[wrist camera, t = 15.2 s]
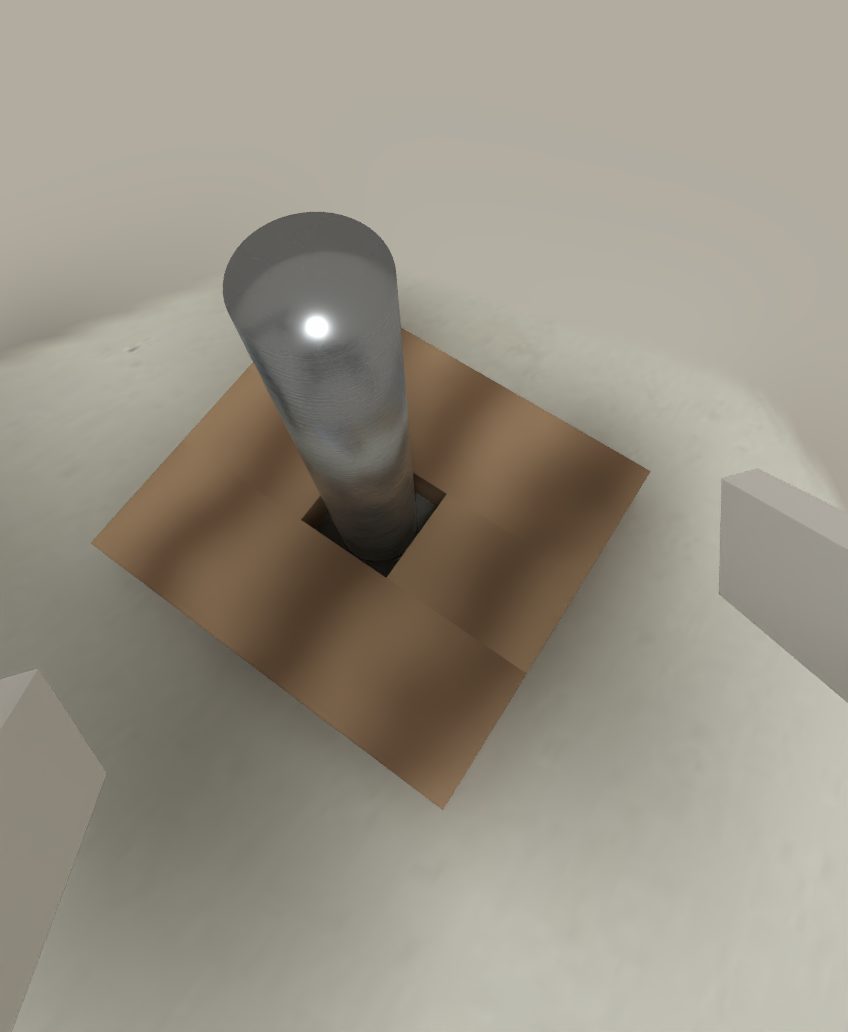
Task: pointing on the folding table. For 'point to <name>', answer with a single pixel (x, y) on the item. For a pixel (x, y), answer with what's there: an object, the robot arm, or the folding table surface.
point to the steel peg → (333, 366)
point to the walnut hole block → (412, 582)
